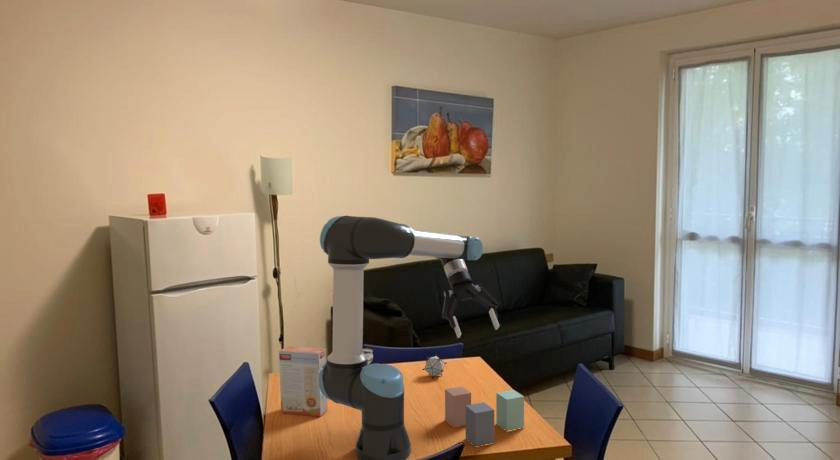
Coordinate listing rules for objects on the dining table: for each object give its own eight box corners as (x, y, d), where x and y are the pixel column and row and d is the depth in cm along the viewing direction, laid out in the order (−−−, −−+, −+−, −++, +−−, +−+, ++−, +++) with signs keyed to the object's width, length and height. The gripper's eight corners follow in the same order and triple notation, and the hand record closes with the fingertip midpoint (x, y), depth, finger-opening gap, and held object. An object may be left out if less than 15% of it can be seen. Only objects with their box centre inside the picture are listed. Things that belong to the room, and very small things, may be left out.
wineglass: (353, 381, 214) (352, 349, 213) (370, 378, 216) (370, 347, 215) (357, 387, 207) (357, 355, 206) (375, 384, 210) (375, 352, 209)
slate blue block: (494, 443, 163) (494, 409, 162) (475, 447, 160) (475, 413, 159) (483, 435, 168) (484, 402, 167) (465, 438, 166) (465, 405, 165)
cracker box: (328, 410, 187) (326, 347, 185) (320, 417, 182) (318, 353, 180) (289, 406, 191) (287, 344, 189) (280, 413, 185) (278, 350, 183)
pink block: (471, 424, 175) (471, 392, 175) (453, 427, 173) (453, 395, 172) (462, 417, 181) (462, 386, 180) (445, 420, 179) (444, 389, 178)
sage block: (523, 428, 172) (524, 396, 171) (506, 432, 170) (506, 399, 169) (513, 420, 178) (513, 389, 177) (496, 424, 175) (496, 392, 174)
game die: (430, 387, 217) (414, 368, 215) (436, 372, 225) (420, 353, 223) (449, 379, 213) (433, 359, 211) (454, 364, 220) (438, 345, 218)
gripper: (487, 274, 203) (509, 329, 193) (421, 286, 196) (440, 344, 185) (493, 264, 197) (516, 319, 187) (426, 276, 190) (445, 335, 179)
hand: (478, 332), depth 186 cm, fingers open, 13 cm apart
